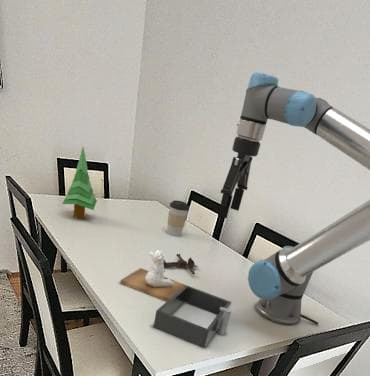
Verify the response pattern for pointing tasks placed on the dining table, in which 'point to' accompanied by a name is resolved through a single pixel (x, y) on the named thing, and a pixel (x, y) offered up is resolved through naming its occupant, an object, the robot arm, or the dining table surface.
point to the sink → (187, 328)
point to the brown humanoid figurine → (181, 264)
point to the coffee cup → (177, 217)
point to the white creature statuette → (157, 271)
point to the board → (139, 283)
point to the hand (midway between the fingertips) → (228, 213)
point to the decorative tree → (81, 190)
